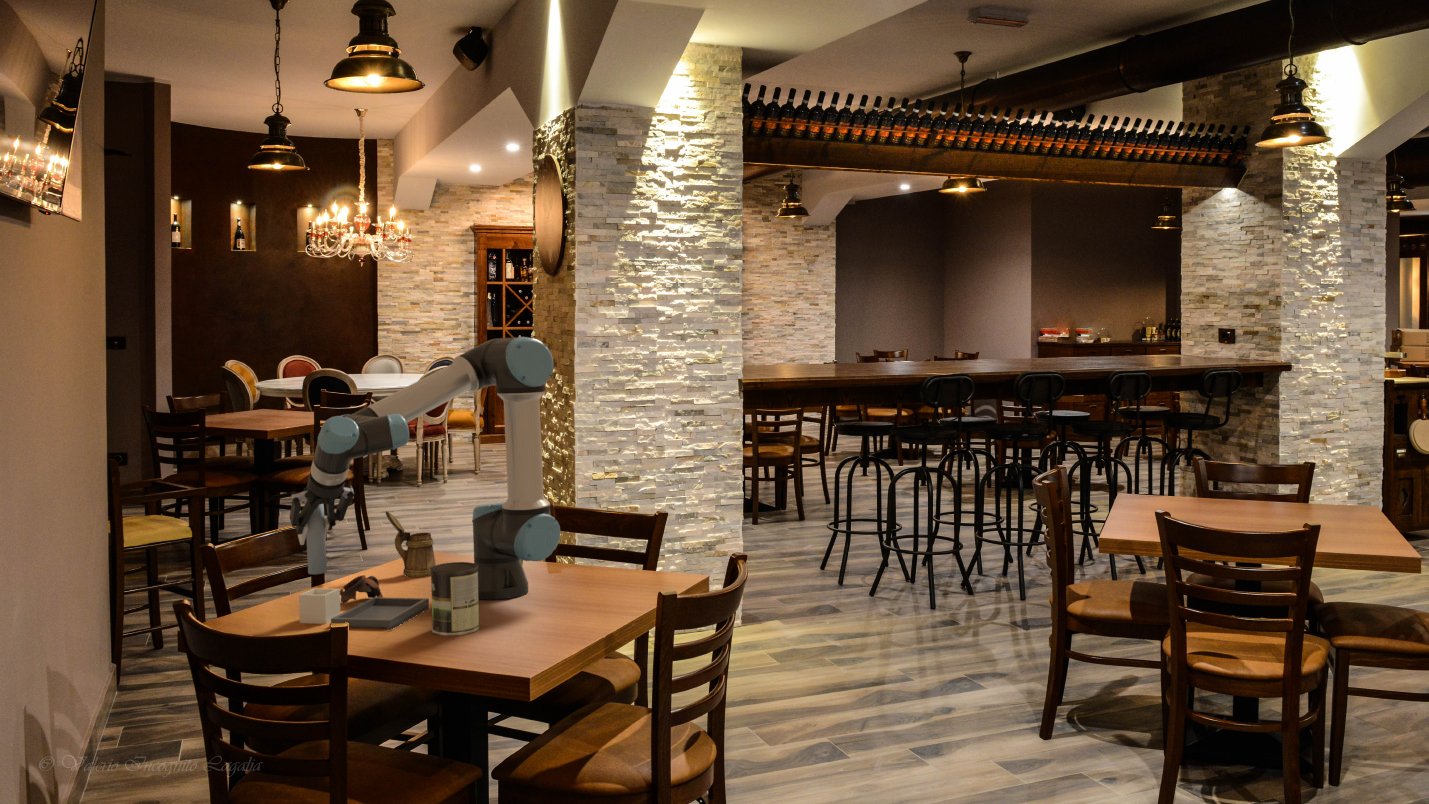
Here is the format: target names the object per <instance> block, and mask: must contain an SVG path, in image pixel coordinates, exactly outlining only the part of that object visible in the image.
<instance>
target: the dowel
mask: <svg viewBox="0 0 1429 804" xmlns="http://www.w3.org/2000/svg"><path fill="white" fill-rule="evenodd" d="M303 501H304V505H305V504H306V502H307V498H306V497H305V498H303ZM324 516H325V506H324V504H320V505H319V506H318V507H317V509H315V510H314V512H313V513H312V515H311V517H310V519H309V520H308V522H307V524H308V531H307V534H306V539H305V540H306V555H307V573H308V575H321V574H325V573H327V572H328V566H327V565H328V564H327V546H326V544H327V543H326V540H325V522H324Z"/></svg>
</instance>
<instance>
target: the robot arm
mask: <svg viewBox="0 0 1429 804" xmlns="http://www.w3.org/2000/svg"><path fill="white" fill-rule="evenodd" d="M554 363H555V362H554V358H553V355H552V353H551V350H550V349H549V347H548V346H547V345H546V344H545V343H543V341H541V340H539V339H536V338H534V337H528V336H520V337H498V338H493V339H489V340H487V341H484V342H483V343H481V344H479V345H476V346H475V347H473V348H471V349H469V350H467V351H465V352H463V353H462V354H460V355H458V356H456V357H454V358H453V361H452V363H451V364H449V365H447V366H445V367H444V368H441V369H439V370H437V371H435V372H433V373H431V374H429V375H427V376H426V377H423V378H421V379H419V380H417V381H416V382H413V383H411V384H409V385H407V386H405V387H404V388H402V389H399V390H397V391H395V392H394V393H392V394H390V395H388V396H386V397H383V398H382V399H380V400H378V401H375V402H374V403H372V404H370V405H368V406H366V407H364V408H362V409H360V410H358V411H355V412H354V413H352V414H350V413H347V414H346V413H345V414H342V415H336V416H331V417H330V418H328V419H326V420H325V421H324V422H323V424H322V426H321V429H320V431H319V433H318V436H317V441H316V443H317V444H316V447H315V451H314V456H313V458H312V459H313V460H312V462H311V466H310V470H309V475H308V479H307V484H306V487H305V488H304V489H303V491H301V492H298V493H297V491H295V490H294V491H292V492H290V496H291V500H292V501H291V507H290V513H289V520H290V524H291V527H292V528H295V530H296V534H297V538H298V542H299V545H300V546H303V545H305V541H306V540H307V539H306V534H307V531H308V524H307V522H308V520H309V519H310V517H311V515H312V513H313V512H314V510H315V509H317V507H318V506H319V505H320V504H325V505H326V515H324V522H325V541H326V539H327V536H328V532H330V531H332V530H333V527H335V526H336V525H337V523H336V521H338V522H342V521H343V520H344V519H345V517H346V514H347V510H348V508H349V506H350V505H349V504H350V502H351V501H352V499H353V498H354V497H355V492H354V489H353V486H352V485H347V486H346V487H345V484H346V480H347V476H348V472H349V470H350V466H351V463H352V461H353V459H358V458H361V457H362V458H363V457H366V456H369V455H374V454H377V453H382V452H386V451H391V450H393V451H394V450H396V449H398V448H401V447H404V446H405V445H407V444H408V443H409V440H410V429H409V425H408V423H409V422H411V421H413V420H415V419H416V418H419V417H420V416H422V415H424V414H426V413H428V412H431V411H432V410H434V409H436V408H438V407H440V406H442V405H443V404H445V403H447V402H450V401H451V400H454V398H456V397H459V396H461V395H462V394H464V393H466V392H469V393H475V392H477V391H479V390H481V389H484V388H486V387H492V386H496V395H497V396H498V397H499V398H500V399H501V400H502V401H503V412H504V413H503V414H504V415H503V416H504V435H505V436H504V439H505V459H506V461H505V462H506V483H507V484H506V486H507V487H506V488H507V499H506V500H505V502H496V503H494V502H493V503H487V504H480V505H477V506H475V507H474V508H473V510H472V520H471V521H472V522H471V523H472V533H473V534H472V536H473V563H475V564H477V565H478V600H505V599H513V598H517V597H520V596H521V597H522V596H523V595H526V594H527V593H528V592H529V581H528V578H527V576H526V573H525V570H524V569H525V568H524V566H523V565H522V564H521V560H523V562H524V561H525V562H540V561H542V560H545V559H547V558H549V556H551V555H552V554H553V552H554V550H556V548H558V547H557V546H558V544H559V543H560V540H561V527H560V524H559V522H558V520H556V518H555V517H554V516H552V514H551V503H550V502H549V500H547V499H546V498H545V496H544V495H545V494H544V476H543V475H544V474H543V455H542V454H543V452H542V450H543V449H542V431H541V428H542V426H541V406H540V403H541V401H540V400H541V398H542V397H543V396H544V395H545V394H546V383H547V382H549V380H550V378H551V377H552V375H553V373H554ZM305 497H306V498H307V502H306V504H305V503H304V505H303V507H302V506H301V504H303V501H304V498H305ZM339 497H340V498H339ZM338 498H339V500H338V504H337V507H336V509H335V506H336V505H335V500H336V499H338ZM301 508H302V509H301Z"/></svg>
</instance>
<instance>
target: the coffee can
mask: <svg viewBox="0 0 1429 804" xmlns="http://www.w3.org/2000/svg"><path fill="white" fill-rule="evenodd" d="M430 572H431V576H430V583H431V589H430V590H431V620H432V621H431V622H432V624H431V625H432V626H431V627H432V628H431V630H432V631H431V632H432V633H433V634H434V633H435V634H434V635H437V634H438V635H437V636H442V635H443V636H444V637H454V636H455V635H458V636H464V635H469V634H472V633H475V632H477V631H479V629H480V612H479V611H480V609H479V599H478V565H477V564H475V563H474V562H467V561H453V562H445V563H439V564H436V566H433V567H431V568H430ZM468 633H469V634H468ZM463 634H464V635H463ZM455 637H456V636H455Z"/></svg>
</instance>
